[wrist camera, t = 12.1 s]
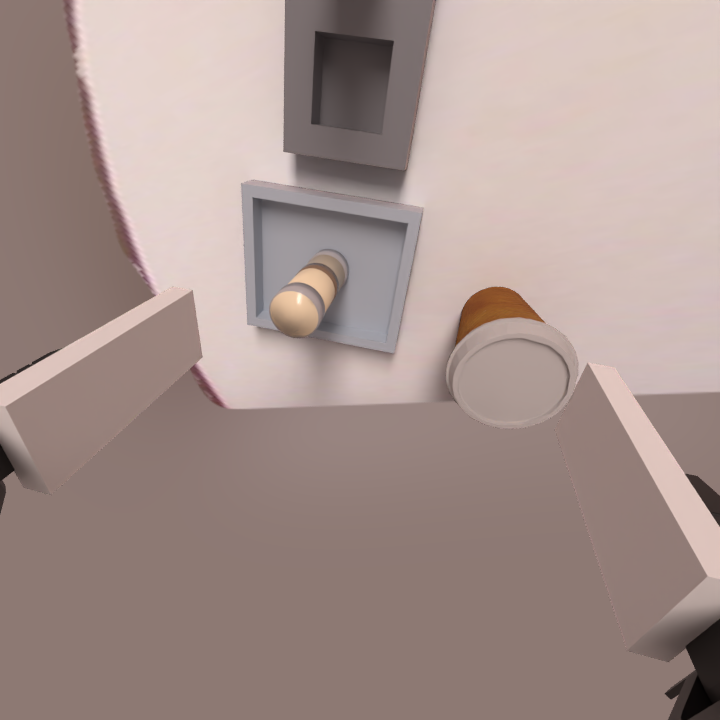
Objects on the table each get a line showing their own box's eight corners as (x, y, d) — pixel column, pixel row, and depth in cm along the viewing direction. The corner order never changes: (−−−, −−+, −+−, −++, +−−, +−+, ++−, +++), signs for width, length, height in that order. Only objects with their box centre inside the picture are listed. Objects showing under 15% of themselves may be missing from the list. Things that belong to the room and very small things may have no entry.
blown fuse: (351, 252, 37) (321, 295, 28) (347, 291, 39) (318, 342, 30) (311, 245, 37) (268, 285, 28) (309, 284, 40) (269, 332, 30)
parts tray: (423, 207, 34) (422, 213, 32) (396, 342, 42) (394, 353, 40) (253, 179, 36) (241, 183, 34) (256, 314, 43) (247, 324, 41)
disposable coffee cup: (446, 358, 42) (447, 432, 32) (443, 273, 37) (444, 329, 27) (540, 356, 40) (573, 434, 30) (550, 266, 35) (594, 323, 25)
